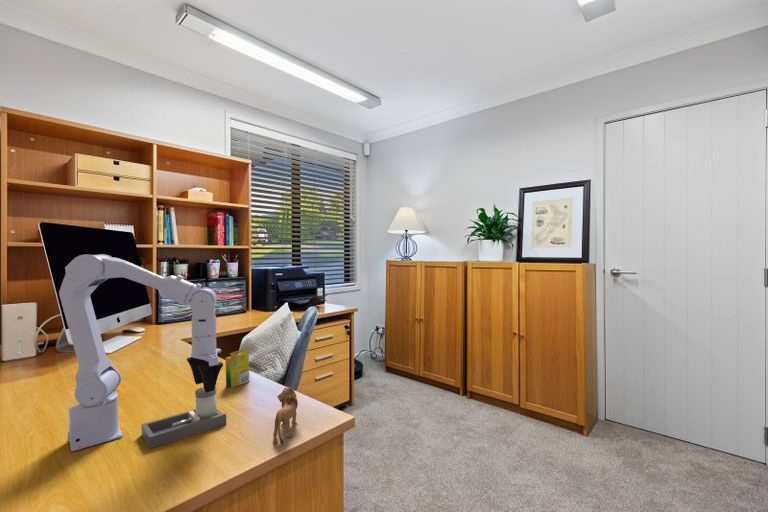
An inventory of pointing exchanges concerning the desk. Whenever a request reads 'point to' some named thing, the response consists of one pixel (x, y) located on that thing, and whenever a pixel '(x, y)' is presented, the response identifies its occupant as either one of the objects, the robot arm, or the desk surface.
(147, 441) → the pusher lane
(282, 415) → the lion figurine
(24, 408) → the desk surface
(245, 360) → the crayon box
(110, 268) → the robot arm
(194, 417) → the pusher
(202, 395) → the jar
